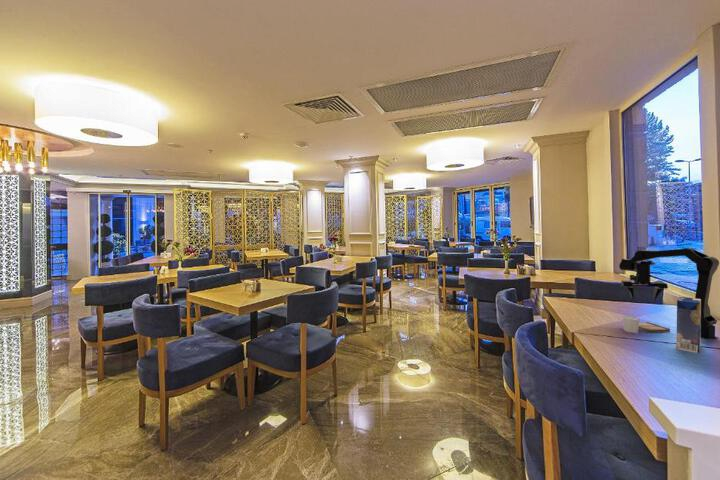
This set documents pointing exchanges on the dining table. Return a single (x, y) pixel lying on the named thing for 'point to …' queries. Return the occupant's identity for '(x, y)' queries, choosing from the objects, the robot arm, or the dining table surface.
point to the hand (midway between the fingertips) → (643, 299)
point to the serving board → (652, 327)
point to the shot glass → (631, 324)
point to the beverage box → (688, 324)
